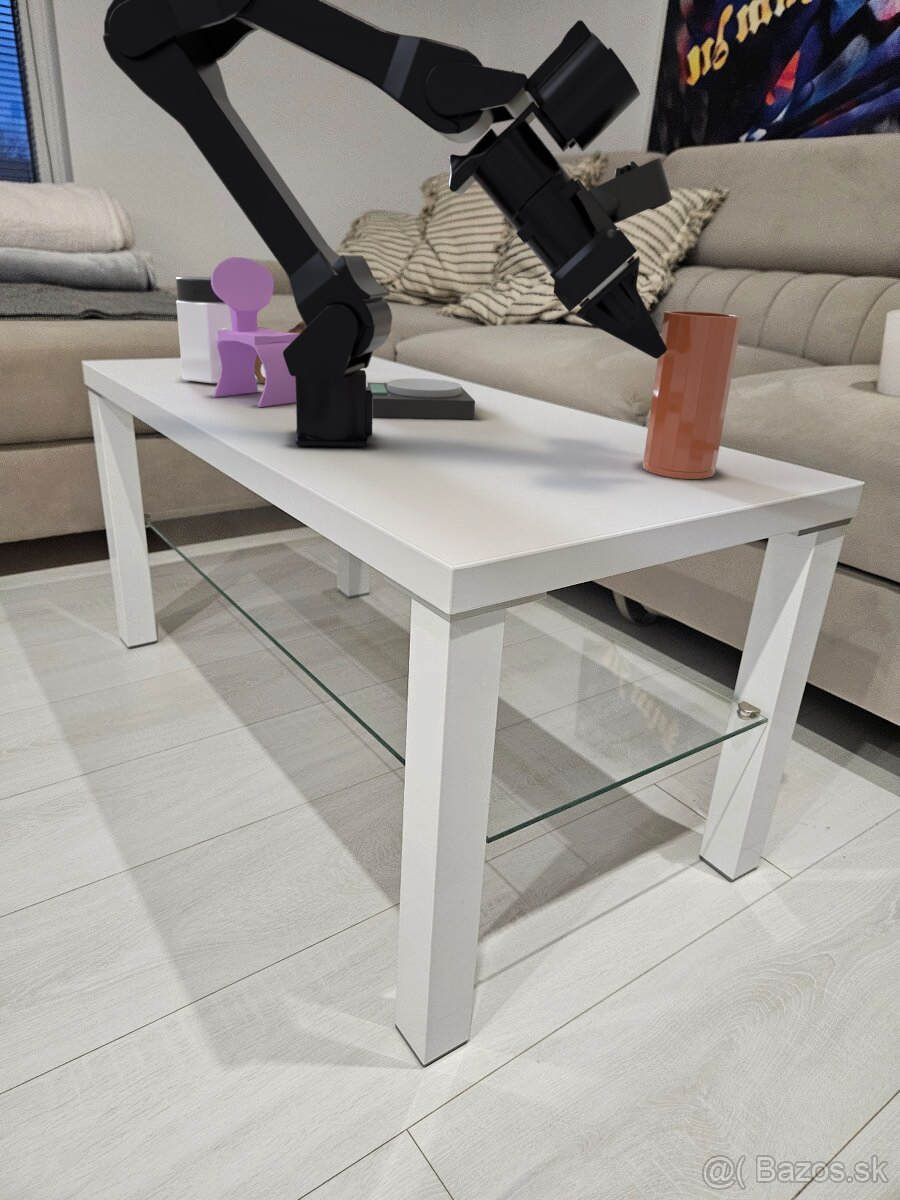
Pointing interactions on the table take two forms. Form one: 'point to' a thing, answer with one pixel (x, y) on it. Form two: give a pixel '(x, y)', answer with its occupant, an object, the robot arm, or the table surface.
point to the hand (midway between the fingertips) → (658, 348)
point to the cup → (691, 393)
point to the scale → (421, 399)
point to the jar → (200, 328)
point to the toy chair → (250, 334)
